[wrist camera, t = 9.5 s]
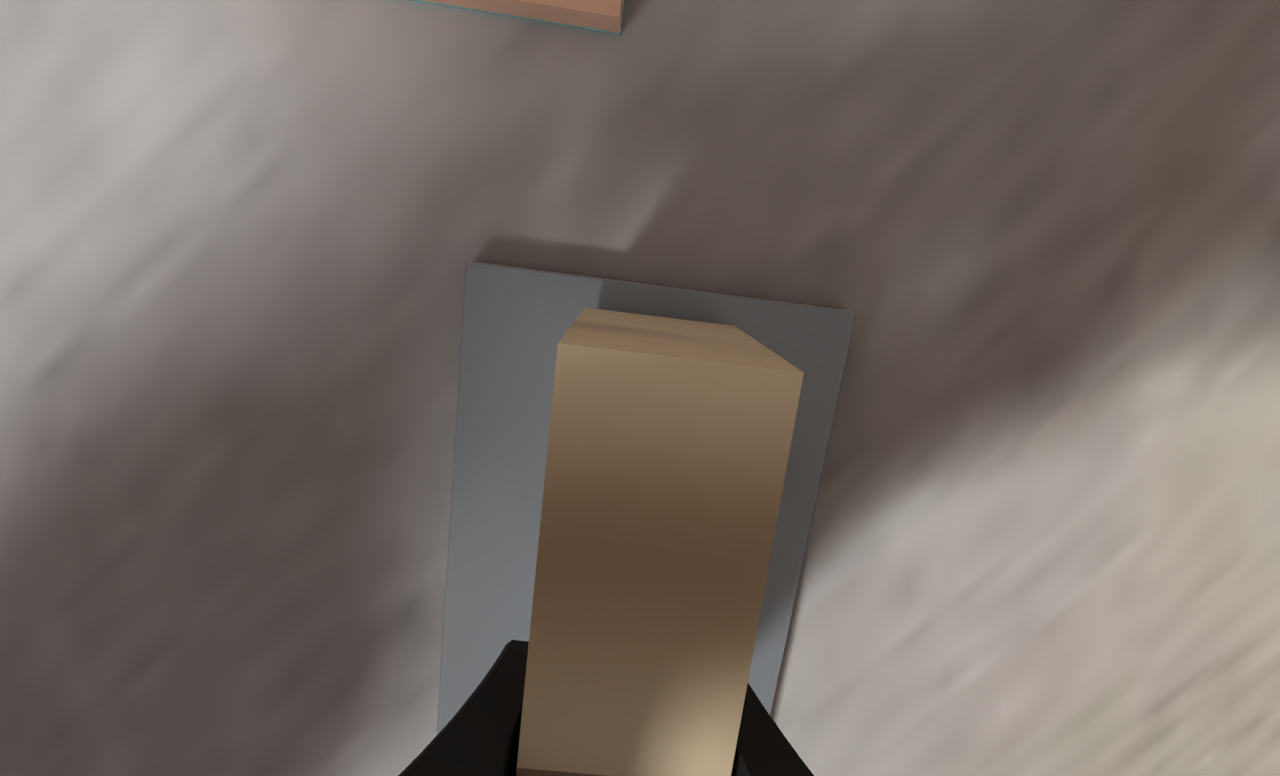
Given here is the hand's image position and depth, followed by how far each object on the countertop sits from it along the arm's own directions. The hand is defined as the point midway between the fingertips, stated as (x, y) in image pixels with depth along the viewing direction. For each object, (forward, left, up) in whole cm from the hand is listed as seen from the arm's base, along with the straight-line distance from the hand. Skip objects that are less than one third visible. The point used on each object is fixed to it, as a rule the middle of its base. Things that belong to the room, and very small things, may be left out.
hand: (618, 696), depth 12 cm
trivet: (+1, 0, -3) cm, 4 cm away
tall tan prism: (+2, 0, -2) cm, 3 cm away
